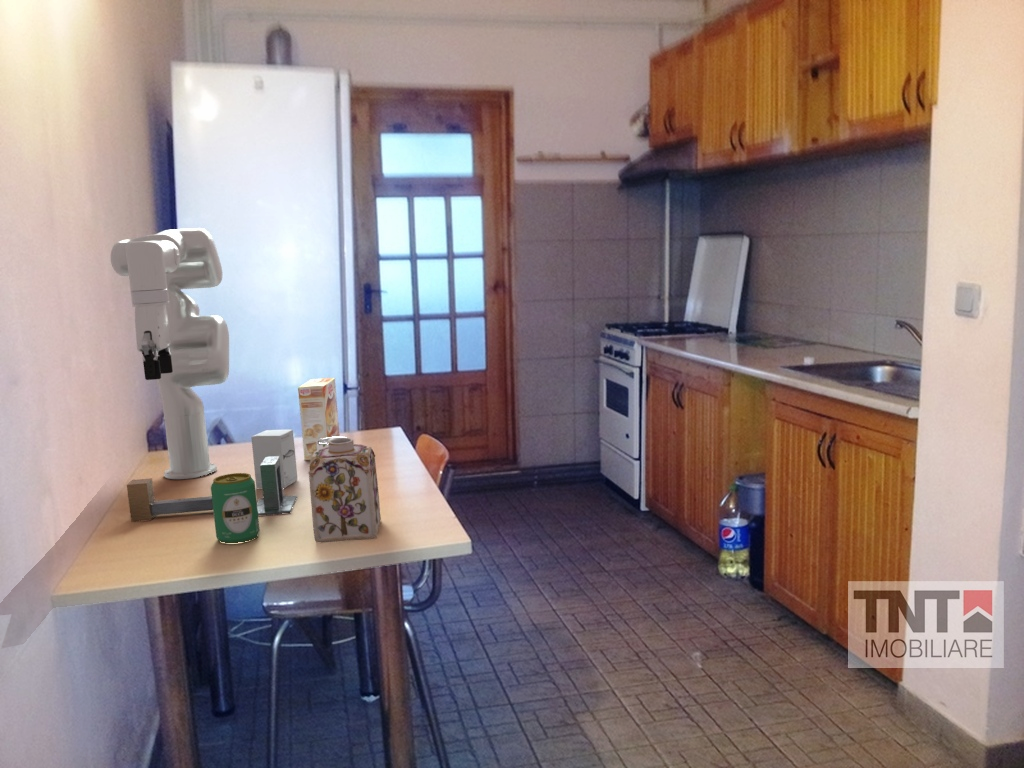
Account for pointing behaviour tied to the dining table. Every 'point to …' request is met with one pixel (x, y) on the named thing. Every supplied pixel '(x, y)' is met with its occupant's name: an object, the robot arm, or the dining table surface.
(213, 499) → the beverage can
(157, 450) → the dining table surface
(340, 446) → the decorative jar
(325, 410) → the coffeecake box
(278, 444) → the supplement box
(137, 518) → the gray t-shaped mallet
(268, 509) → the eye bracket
